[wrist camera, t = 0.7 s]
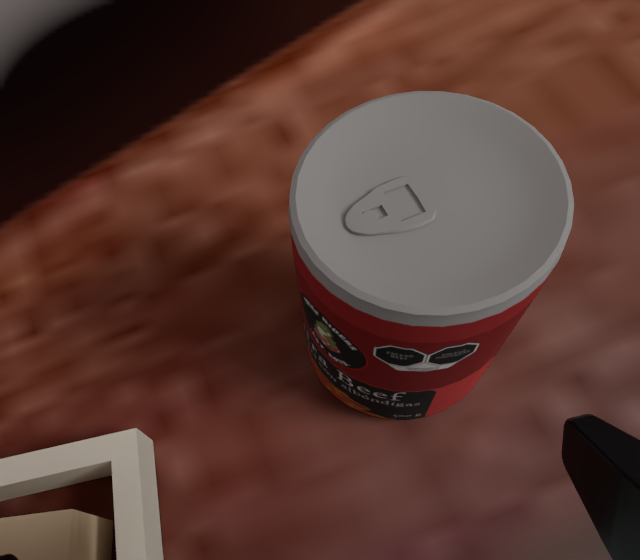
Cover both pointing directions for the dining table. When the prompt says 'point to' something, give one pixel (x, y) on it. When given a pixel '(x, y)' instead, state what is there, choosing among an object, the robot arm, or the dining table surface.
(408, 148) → the canned food
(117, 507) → the tray
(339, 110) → the dining table surface
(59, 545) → the maple block
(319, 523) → the dining table surface
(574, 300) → the dining table surface
